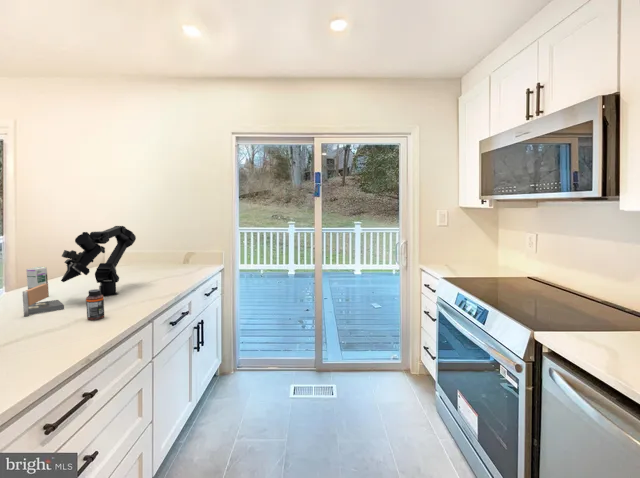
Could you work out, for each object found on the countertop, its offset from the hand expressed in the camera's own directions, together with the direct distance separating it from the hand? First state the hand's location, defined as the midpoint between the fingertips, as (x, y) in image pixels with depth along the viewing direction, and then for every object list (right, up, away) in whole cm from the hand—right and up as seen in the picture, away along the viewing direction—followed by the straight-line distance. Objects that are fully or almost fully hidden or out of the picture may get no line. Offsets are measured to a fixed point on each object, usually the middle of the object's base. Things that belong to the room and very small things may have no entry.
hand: (62, 281), depth 167 cm
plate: (-3, -11, -8) cm, 14 cm away
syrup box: (-21, -9, +13) cm, 26 cm away
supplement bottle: (+26, -13, -19) cm, 35 cm away
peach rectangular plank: (-4, -7, -9) cm, 12 cm away
